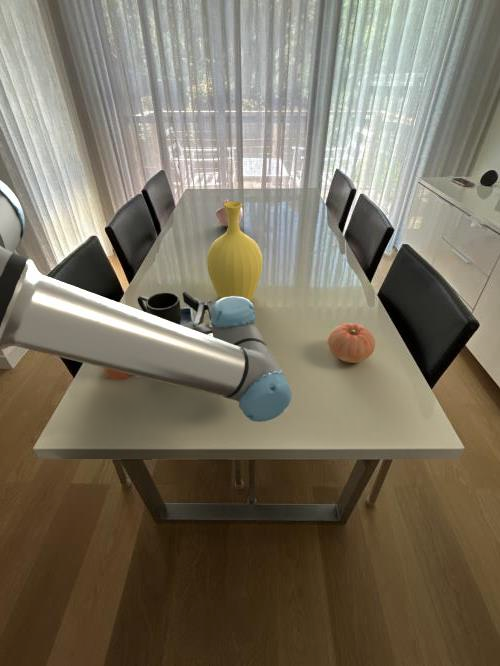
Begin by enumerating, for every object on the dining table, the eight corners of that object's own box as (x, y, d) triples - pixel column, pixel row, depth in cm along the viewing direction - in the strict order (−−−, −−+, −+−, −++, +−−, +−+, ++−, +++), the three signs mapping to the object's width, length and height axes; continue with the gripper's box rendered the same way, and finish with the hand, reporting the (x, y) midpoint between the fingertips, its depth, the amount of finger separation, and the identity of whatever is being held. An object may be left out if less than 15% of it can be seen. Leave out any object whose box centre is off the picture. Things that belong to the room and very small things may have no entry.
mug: (155, 315, 96) (149, 286, 90) (190, 327, 91) (185, 296, 86) (135, 331, 90) (127, 300, 84) (171, 344, 86) (165, 313, 80)
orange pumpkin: (380, 356, 82) (387, 329, 78) (353, 377, 77) (360, 350, 72) (343, 335, 89) (348, 310, 84) (316, 353, 83) (320, 327, 78)
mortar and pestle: (234, 220, 161) (233, 194, 154) (247, 227, 153) (247, 201, 146) (211, 224, 156) (210, 199, 149) (224, 232, 147) (223, 206, 141)
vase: (231, 279, 114) (227, 192, 97) (271, 293, 106) (275, 201, 89) (199, 300, 103) (188, 206, 86) (241, 317, 96) (239, 218, 79)
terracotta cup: (102, 382, 76) (90, 351, 70) (106, 360, 82) (96, 330, 76) (137, 377, 77) (128, 346, 72) (139, 355, 83) (131, 326, 78)
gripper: (157, 386, 68) (116, 337, 81) (252, 338, 81) (203, 301, 94) (150, 359, 63) (108, 311, 77) (252, 311, 76) (201, 277, 89)
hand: (160, 305), depth 85 cm, fingers open, 13 cm apart
